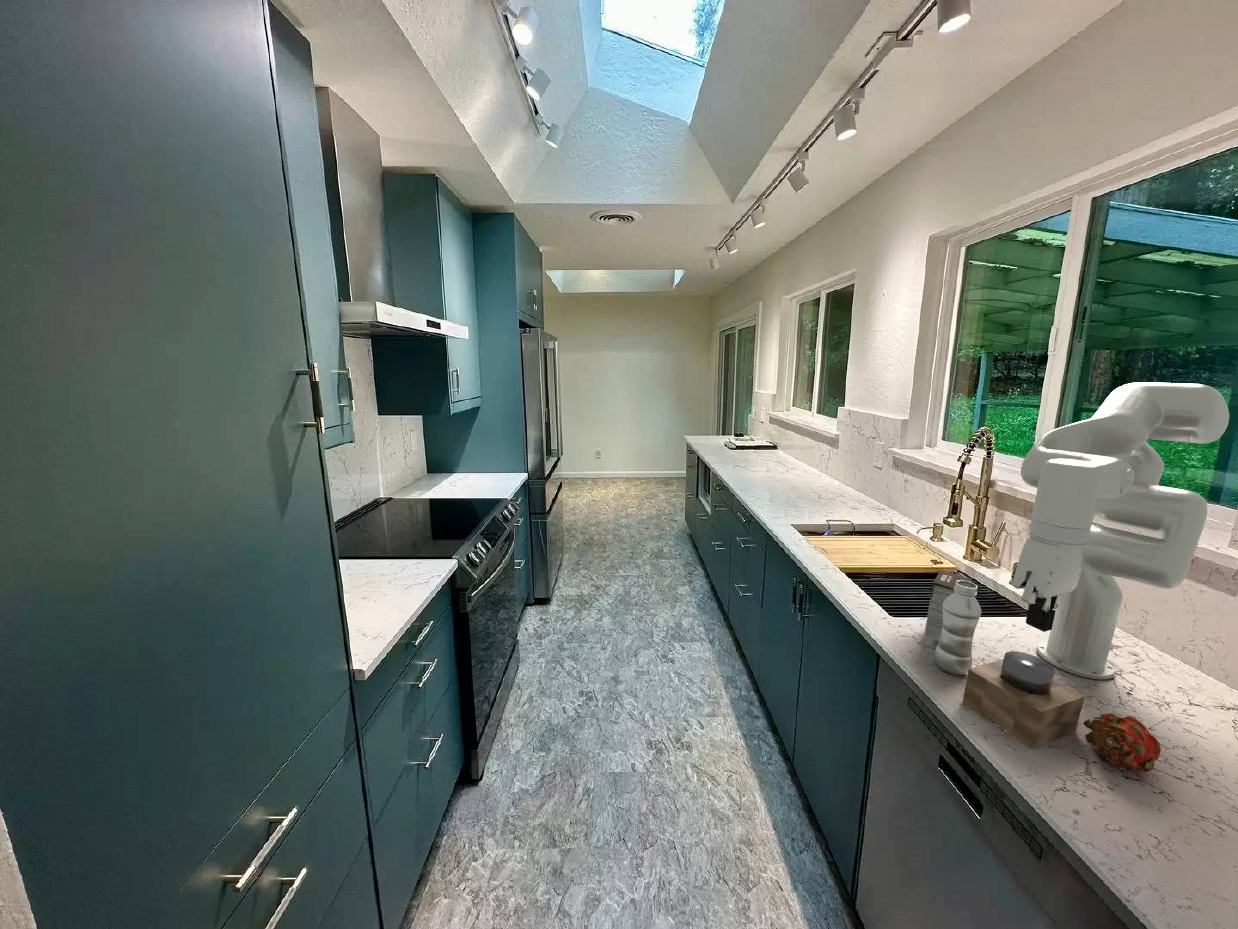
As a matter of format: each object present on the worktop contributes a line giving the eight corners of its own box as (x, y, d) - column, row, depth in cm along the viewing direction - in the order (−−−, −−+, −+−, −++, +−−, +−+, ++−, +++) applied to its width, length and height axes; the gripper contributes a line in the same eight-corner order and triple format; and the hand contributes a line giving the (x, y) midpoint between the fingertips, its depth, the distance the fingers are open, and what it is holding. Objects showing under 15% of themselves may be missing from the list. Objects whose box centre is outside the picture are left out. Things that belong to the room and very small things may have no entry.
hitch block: (1003, 689, 96) (1010, 656, 94) (1075, 732, 85) (1084, 696, 83) (962, 702, 92) (968, 669, 90) (1032, 749, 81) (1041, 712, 79)
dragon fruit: (1109, 788, 75) (1105, 755, 84) (1182, 787, 70) (1170, 751, 79) (1075, 731, 78) (1075, 705, 87) (1143, 726, 73) (1136, 698, 81)
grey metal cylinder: (1009, 698, 93) (1020, 648, 90) (1051, 723, 86) (1064, 670, 84) (984, 706, 90) (995, 655, 88) (1026, 733, 84) (1038, 678, 82)
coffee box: (930, 629, 117) (940, 569, 114) (961, 640, 113) (973, 578, 109) (921, 644, 111) (931, 581, 107) (954, 656, 106) (966, 591, 103)
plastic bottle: (976, 681, 98) (993, 593, 94) (940, 676, 99) (956, 589, 95) (960, 662, 104) (976, 579, 100) (927, 658, 106) (941, 575, 101)
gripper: (1060, 518, 86) (1040, 608, 91) (1005, 529, 82) (987, 624, 86) (1113, 533, 79) (1089, 629, 84) (1056, 546, 75) (1034, 648, 79)
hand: (1038, 626), depth 85 cm, fingers closed
